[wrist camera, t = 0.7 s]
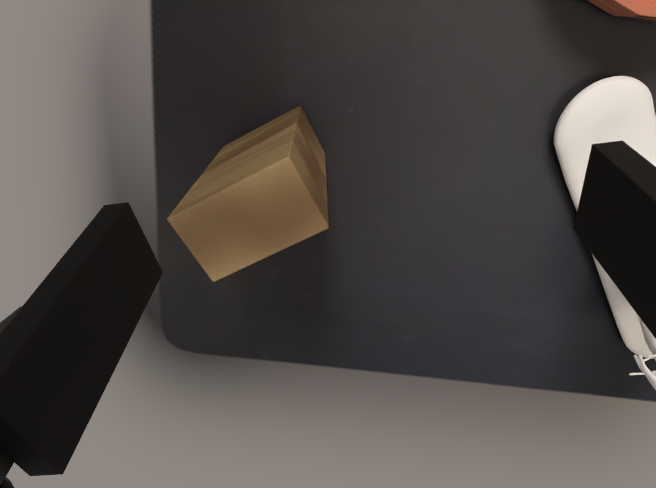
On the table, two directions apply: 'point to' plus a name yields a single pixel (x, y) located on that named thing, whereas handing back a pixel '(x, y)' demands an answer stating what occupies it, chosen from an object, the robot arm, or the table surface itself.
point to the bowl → (628, 8)
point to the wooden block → (256, 196)
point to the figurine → (573, 154)
